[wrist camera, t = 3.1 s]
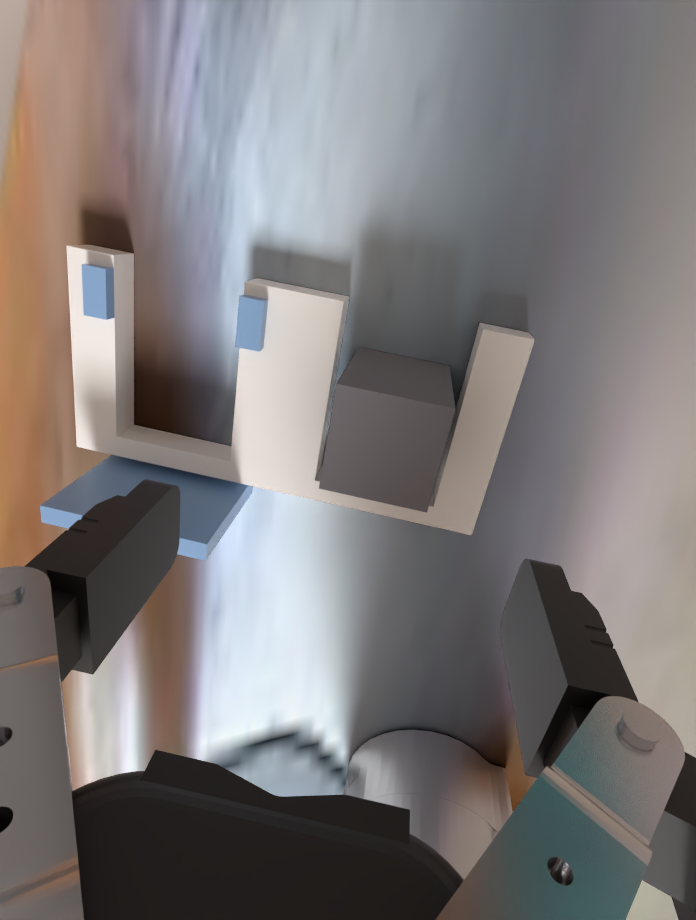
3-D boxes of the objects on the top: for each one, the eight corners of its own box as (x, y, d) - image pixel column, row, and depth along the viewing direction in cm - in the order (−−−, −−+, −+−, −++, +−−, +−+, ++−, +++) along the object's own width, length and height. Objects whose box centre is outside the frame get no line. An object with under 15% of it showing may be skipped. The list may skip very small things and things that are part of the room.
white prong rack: (528, 332, 22) (560, 367, 16) (462, 540, 26) (470, 622, 20) (89, 244, 23) (-18, 249, 17) (96, 457, 27) (13, 515, 22)
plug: (449, 365, 23) (455, 408, 17) (427, 449, 24) (426, 512, 19) (358, 346, 23) (336, 383, 17) (343, 431, 25) (318, 488, 19)
